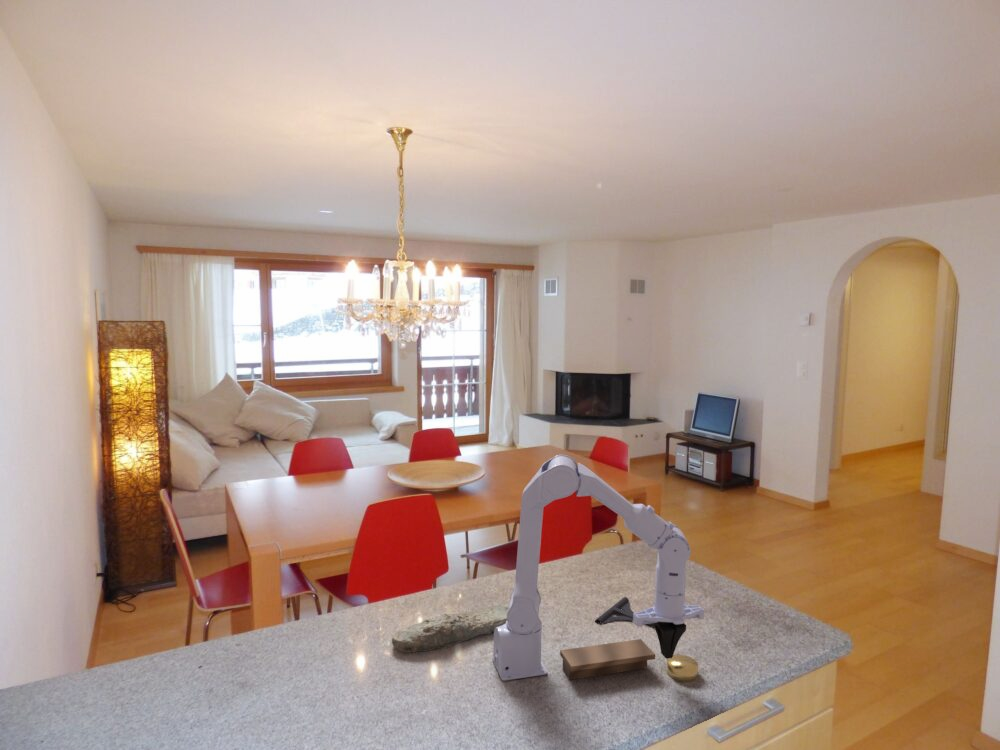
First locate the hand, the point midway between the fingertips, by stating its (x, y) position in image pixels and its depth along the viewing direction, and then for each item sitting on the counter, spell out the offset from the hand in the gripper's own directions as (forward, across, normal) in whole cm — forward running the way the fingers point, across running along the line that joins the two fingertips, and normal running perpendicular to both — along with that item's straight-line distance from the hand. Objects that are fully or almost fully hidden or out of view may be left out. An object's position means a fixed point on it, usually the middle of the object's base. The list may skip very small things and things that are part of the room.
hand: (666, 655), depth 122 cm
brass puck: (+5, +4, +1) cm, 6 cm away
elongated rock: (+5, -34, +27) cm, 44 cm away
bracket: (+6, +6, +22) cm, 24 cm away
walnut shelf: (+5, -10, +5) cm, 12 cm away
